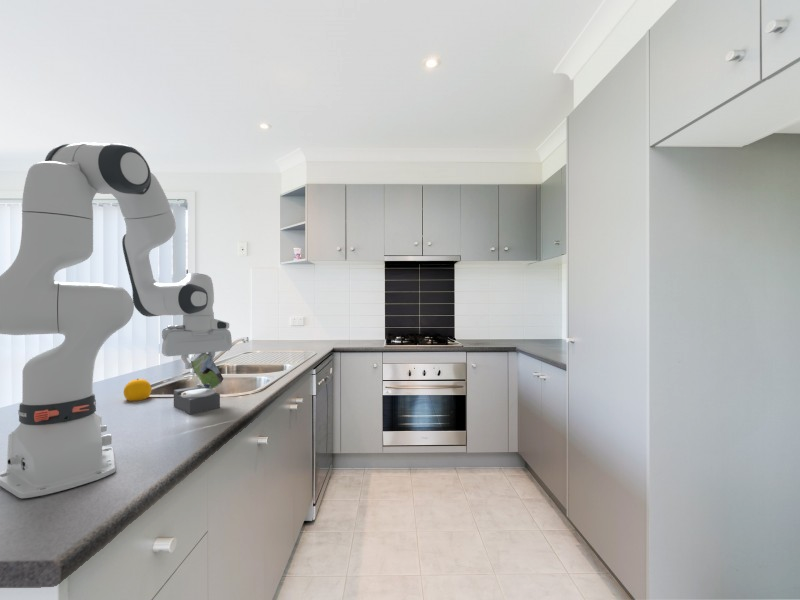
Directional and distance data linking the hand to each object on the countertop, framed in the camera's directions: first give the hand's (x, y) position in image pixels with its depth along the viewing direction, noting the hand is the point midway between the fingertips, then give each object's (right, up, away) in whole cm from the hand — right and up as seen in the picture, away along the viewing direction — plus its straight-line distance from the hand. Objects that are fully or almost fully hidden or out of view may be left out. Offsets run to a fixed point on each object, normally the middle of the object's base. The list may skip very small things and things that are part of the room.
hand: (198, 367), depth 119 cm
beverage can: (+3, -7, +4) cm, 9 cm away
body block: (-1, -13, +1) cm, 13 cm away
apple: (-27, -14, +10) cm, 32 cm away
